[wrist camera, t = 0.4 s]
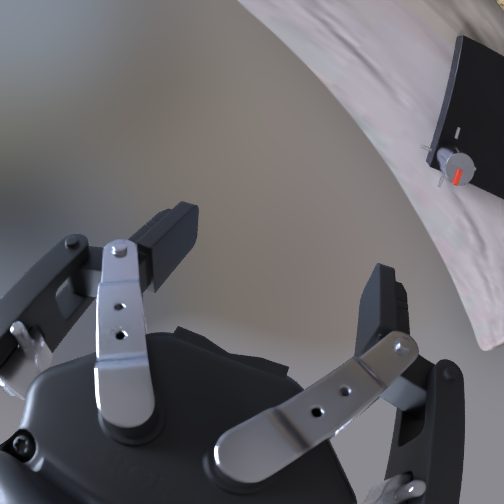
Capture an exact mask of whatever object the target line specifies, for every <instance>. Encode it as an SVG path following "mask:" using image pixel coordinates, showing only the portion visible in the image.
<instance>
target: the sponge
mask: <svg viewBox="0 0 504 504" xmlns="http://www.w3.org/2000/svg"><path fill="white" fill-rule="evenodd" d="M496 1H497V2H498V4H499V5H500V7H501V8H502V10H503V11H504V0H496Z"/></svg>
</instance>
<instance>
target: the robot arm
mask: <svg viewBox="0 0 504 504" xmlns="http://www.w3.org/2000/svg"><path fill="white" fill-rule="evenodd" d="M198 214H199V208H198V206H197V205H194V204H190V203H187V202H183V201H182V202H180V203H179V204H178V205H176V206H175V207H174V208H173V209H166V210H164V211H161V212H159V213H158V214H156V215H155V216H154V217H153V218H152V220H150V221H149V222H147V223H146V225H144V226H143V227H142V228H140V229H139V230H138V231H137V232H136V233H135V234H134V235H132V236H131V237H130V238H129V239H128V240H126V239H119V240H114V241H112V242H110V243H108V244H107V245H106V246H105V247H104V248H101V247H92V246H89V244H88V239H87V238H86V237H85V236H84V235H81V234H72V235H68V236H66V237H64V238H63V239H61V240H60V241H59V242H58V243H57V244H56V245H55V246H53V247H52V248H51V249H50V250H49V251H48V252H47V253H46V254H45V255H44V256H43V257H41V258H40V259H39V260H38V261H37V262H36V263H35V264H34V265H33V266H32V267H31V268H30V269H29V270H28V271H27V272H26V273H25V274H24V275H23V276H22V277H21V278H20V279H19V280H18V281H17V282H16V283H15V284H14V285H13V286H12V287H11V288H10V289H9V290H8V291H7V292H6V293H5V294H4V295H3V296H2V297H1V298H0V387H1V388H2V389H3V390H4V391H5V392H6V393H7V394H8V395H10V396H18V397H19V398H21V399H22V400H23V401H25V406H24V411H23V415H22V418H21V422H20V424H19V427H18V429H17V431H16V432H15V434H13V436H11V437H10V438H9V439H8V440H7V441H5V442H4V443H2V444H1V445H0V504H357V500H356V496H355V493H354V491H353V489H352V487H351V485H350V483H349V481H348V479H347V476H346V474H345V472H344V470H343V468H342V466H341V464H340V461H339V459H338V457H337V455H336V453H335V451H334V448H333V446H332V444H331V442H330V439H332V438H333V437H334V436H335V435H337V434H338V433H339V432H340V431H342V430H343V429H344V428H345V427H346V426H348V425H349V424H350V423H351V422H352V421H354V420H355V419H356V418H357V417H358V416H359V415H361V414H362V413H363V412H364V411H365V410H366V409H367V408H369V407H370V406H371V405H372V404H373V403H374V402H375V401H376V400H378V399H379V398H382V399H384V400H385V401H387V402H389V403H390V404H392V405H394V406H396V407H397V411H396V419H395V426H394V432H393V438H392V444H391V450H390V455H389V460H388V465H387V470H386V474H385V479H384V481H383V482H380V483H378V484H376V485H375V486H373V487H372V488H371V490H370V491H369V493H368V495H367V497H366V499H365V501H364V502H363V503H362V504H459V497H460V491H461V481H462V472H463V460H464V441H465V440H464V439H465V399H464V379H463V374H462V372H461V370H460V368H459V367H458V366H457V365H456V364H455V363H454V362H452V361H450V360H446V359H444V360H440V361H439V362H438V363H437V364H436V365H435V364H433V363H431V362H430V361H428V360H426V359H425V358H423V357H422V356H420V355H419V354H418V353H419V350H418V346H417V344H416V342H415V340H414V339H413V338H412V337H411V336H410V328H409V314H408V304H407V293H406V291H405V289H404V287H403V285H402V283H399V282H396V280H395V270H394V268H392V267H389V266H385V265H383V264H380V263H378V264H377V265H376V266H375V268H374V271H373V273H372V275H371V277H370V279H369V281H368V283H367V285H366V286H365V288H364V291H363V293H362V297H361V300H360V306H359V318H358V328H357V338H356V346H355V354H354V357H352V358H350V359H349V360H348V361H346V362H345V363H343V364H342V365H341V366H339V367H338V368H336V369H335V370H333V371H332V372H330V373H329V374H328V375H326V376H325V377H323V378H322V379H320V380H319V381H317V382H316V383H314V384H312V385H311V386H309V387H308V388H306V389H305V390H304V389H303V388H302V387H301V386H300V385H299V384H298V383H297V382H296V381H294V380H293V379H292V378H290V377H289V376H287V372H288V369H289V367H288V366H284V365H281V364H278V363H275V362H272V361H269V360H266V359H264V358H260V357H252V356H245V355H237V354H231V353H228V352H226V351H225V350H223V349H222V348H220V347H219V346H217V345H216V344H214V343H213V342H211V341H210V340H208V339H207V338H205V337H204V336H201V335H199V334H196V333H194V332H192V331H189V330H187V329H184V328H182V327H179V326H178V327H177V329H176V330H175V331H174V333H166V332H157V333H150V334H147V328H146V320H145V312H144V303H143V295H142V294H143V292H144V291H145V290H146V289H147V290H149V291H152V292H154V293H156V291H157V290H158V289H159V288H160V286H161V285H162V284H163V283H164V282H165V280H166V279H167V278H168V277H169V275H170V274H171V273H172V272H173V271H174V269H175V268H176V267H177V266H178V264H179V263H180V262H181V261H182V259H184V257H185V256H186V255H187V254H188V252H189V251H190V250H191V249H192V248H193V246H194V244H195V242H196V239H197V230H198ZM66 279H67V281H68V284H67V285H66V286H65V287H64V288H63V290H62V291H61V292H60V293H59V294H58V295H57V296H56V292H57V289H58V288H59V287H60V286H61V285H62V283H63V282H64V281H65V280H66ZM95 298H97V310H96V349H97V352H95V353H92V354H89V355H86V356H83V357H80V358H77V359H74V360H71V361H68V362H66V363H63V364H60V365H56V366H53V367H50V366H51V364H52V359H53V357H52V353H53V351H54V350H55V349H56V348H57V346H58V345H59V343H60V342H61V341H62V339H63V338H64V337H65V336H66V334H67V333H68V332H69V331H70V329H71V328H72V327H73V325H74V324H75V323H76V322H77V320H78V319H79V318H80V317H81V315H82V314H83V313H84V312H85V310H86V309H87V308H88V306H89V305H90V304H91V303H92V302H93V301H94V299H95Z"/></svg>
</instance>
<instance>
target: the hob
mask: <svg viewBox="0 0 504 504" xmlns="http://www.w3.org/2000/svg"><path fill="white" fill-rule="evenodd" d="M445 143H453V144H455V145H457V146H458V147H459V148H460V149H461V150H463V151H464V152H465V153H466V154H467V155H468V156H469V157H470V158H471V159H472V161H473V163H474V167H475V171H474V175H473V177H472V179H471V180H470V181H469V182H468V183H470V184H472V185H475V186H477V187H479V188H481V189H483V190H485V191H487V192H490V193H492V194H494V195H496V196H498V197H500V198H502V199H504V56H502V55H500V54H498V53H497V52H495V51H493V50H491V49H489V48H488V47H486V46H484V45H482V44H480V43H478V42H476V41H474V40H472V39H470V38H468V37H466V36H464V35H463V36H459V37H457V40H456V45H455V51H454V56H453V61H452V66H451V71H450V76H449V80H448V85H447V89H446V93H445V97H444V101H443V105H442V109H441V112H440V116H439V120H438V123H437V127H436V130H435V134H434V137H433V140H432V143H431V147H430V148H429V147H426V146H424V145H421V146H420V148H423V149H425V150H428V151H429V153H428V156H427V159H426V161H427V163H428V164H429V166H430V167H432V168H435V169H437V170H440V171H442V170H441V169H440V167H439V166H438V164H437V162H436V153H437V150H438V149H439V147H440V146H441V145H443V144H445ZM443 179H444V177H443V176H441V179H440V181H439V184H438V187H441V185H442V182H443Z"/></svg>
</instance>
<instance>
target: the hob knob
mask: <svg viewBox="0 0 504 504" xmlns="http://www.w3.org/2000/svg"><path fill="white" fill-rule="evenodd" d="M436 162H437V164H438V166H439V167H440V169H441V170H442V172H443V173H444V174H445V176H446V177H447V178H448V180H449V181H450V182H451V183H453V184H454V185H456V186H458V185H465V184H467V183H468V182H469V181H470V180H471V179H472V177H473V175H474V171H475V167H474V163H473V161H472V159H471V158H470V157H469V156H468V155H467V154H466V153H465V152H464V151H463V150H461V149H460V148H459V147H458V146H457V145H455V144H453V143H445V144H443V145H441V146H440V147H439V149H438V150H437V153H436Z"/></svg>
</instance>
